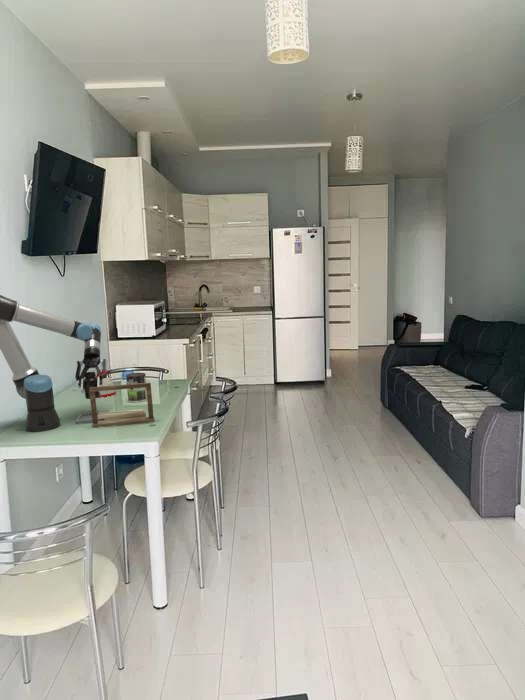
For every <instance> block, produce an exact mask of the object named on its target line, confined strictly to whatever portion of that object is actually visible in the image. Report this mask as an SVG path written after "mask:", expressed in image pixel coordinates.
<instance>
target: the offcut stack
mask: <svg viewBox="0 0 525 700" xmlns="http://www.w3.org/2000/svg"><path fill="white" fill-rule="evenodd" d="M104 412H105V413H99V414H98V416H97V417H98V418H99V420H98V424H108V423H119V422H130V421H141V420H146V417H147V413H146V411H145V410H144V408H142V409H141V408H140V409H129V410H118V411H117V410H116V411H109V412H106V411H104Z"/></svg>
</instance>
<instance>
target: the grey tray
mask: <svg viewBox="0 0 525 700" xmlns="http://www.w3.org/2000/svg"><path fill="white" fill-rule="evenodd" d="M105 412H110V411H107V410H106V411H97V416H98V414H99V413H105ZM97 418H98V417H97ZM98 420H99V418H98ZM78 423H83V424H91V423H92V424H93V422H92V412H87V413H80V414H79V416H78V417H77V418H76V420H75V425H79V424H78Z"/></svg>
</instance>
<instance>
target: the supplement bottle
mask: <svg viewBox="0 0 525 700" xmlns="http://www.w3.org/2000/svg"><path fill="white" fill-rule="evenodd" d="M95 376H97V374H96V372H95V371H87V373H85V377H84V380H83V384H84V398H85V399H86V400H90V392H89V388H90V387H97V383H98V378H96V377H95ZM98 397H100V392H98V391H95V398H96V399H99V398H98Z"/></svg>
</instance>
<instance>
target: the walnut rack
mask: <svg viewBox="0 0 525 700" xmlns="http://www.w3.org/2000/svg"><path fill="white" fill-rule="evenodd" d="M142 387H146V391H147V400H146V401H147V413H148V416H146V420H141V421H130V422H119V423H108V424H98V418H97V412H98V410H97V409H98V408H97V400H96V399H97V398H95V391H106V390H116V391H117V390H127V389H130V388H142ZM89 392H90V399H89V400H90V411H91V412H90V413H92V422H93V423H92V424H91V427H94V428H101V427H100V426H105V427H114V426H113V425H116V426H124V425H137V424H145V423H146V424H147V423H154V422H155V421H154V420H155V416H154V407H153V406H154V405H153V396H152V395H153V394H152V383H151V382H146V383H139V384H127V383H125V384H118V385H117V384H116V385H115V384H114V386H102V387H90V388H89Z"/></svg>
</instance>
